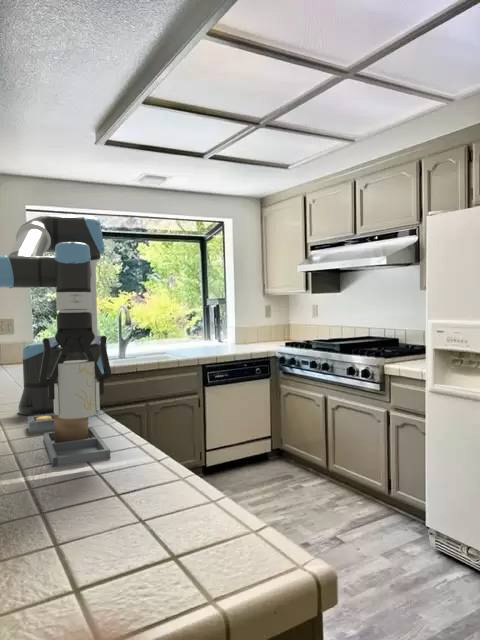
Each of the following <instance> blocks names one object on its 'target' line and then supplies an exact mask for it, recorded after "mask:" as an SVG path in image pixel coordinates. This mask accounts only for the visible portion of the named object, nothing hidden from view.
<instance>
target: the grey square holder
mask: <svg viewBox="0 0 480 640" xmlns="http://www.w3.org/2000/svg"><path fill="white" fill-rule="evenodd" d="M43 416H51V417H52V419H47V420H38V421H36V418H38V417H43ZM27 430H28V434H29V435H33V434H39V433H40V434H44V433H48V432H54V413H48V414H38V415H28V416H27Z"/></svg>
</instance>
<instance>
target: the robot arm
mask: <svg viewBox="0 0 480 640" xmlns="http://www.w3.org/2000/svg"><path fill="white" fill-rule="evenodd" d="M102 231H103V230H102V226H101V221H100V218H98V217H96V216H89V215H88V216H87V215H62V214H61V215H60V214H59V215H58V214H47V215H41V216H38V217H35V218H32V219H30V220H28V221H26V222H24V223H23V224H22V225H21V226H20V227H19V228H18V229H17V231H16V233H15V235H16V236H15V242H14V245H13V247H12V249H11V250H10V251H9V253H8V254H3V255H0V288H9V289H14V288H15V289H19V288H22V289H23V288H29V289H30V288H56V290H55V294H56V295H55V297H56V298H55V302H56V307H55V308H56V310H57V311H59V312H57V314H56V334H55V336H51V337H43V338H42V341H39V342H33V343H28V344H27V345H25V346H23V349H22V358H21V359H22V372H23V373H22V374H23V375H22V377H23V379H22V380H23V390H22V394H21V397H20V401H19V404H18V414H20V415H24V416H38V415H47V414H54V413H55V415H59V398H58V385H57V376H58V364H63V362H64V361H73V360H88V361H89V362H93V361H94V364H95V397H96V411H100V410H101V407H100V401H101V400H100V396H102V395H104V393H105V389H104V388H105V386H104V382H105V380H107V379H109V378H111V377H112V376H113V375H112V370H111V369H112V368H111V365H110V361H109V356H108V351H107V349H108V344H107V339H108V338H107V336H106V335H101V334H99V332H98V304H97V302H98V300H97V297H98V296H97V265H96V264H97V263H98V262H99V261H100V260H101V254H105V253H106V252H105V244H104V238H103V232H102ZM45 253H54V256H48V255H45V256H43V255H44V254H45ZM53 399H54V404H53Z"/></svg>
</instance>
